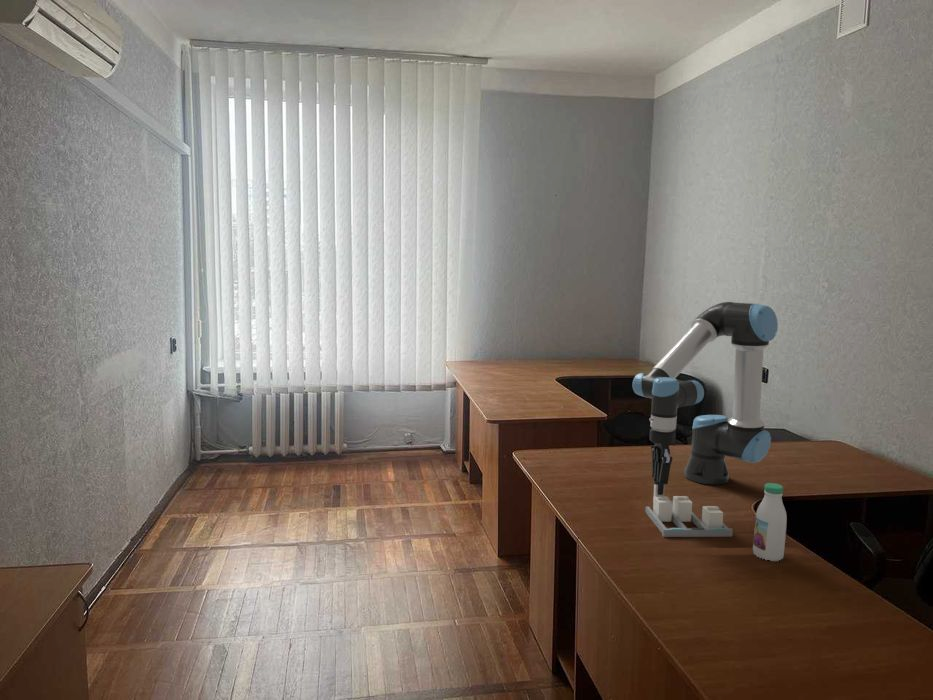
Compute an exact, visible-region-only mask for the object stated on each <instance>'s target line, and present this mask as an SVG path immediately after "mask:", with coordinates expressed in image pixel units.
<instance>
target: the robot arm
mask: <svg viewBox="0 0 933 700" xmlns="http://www.w3.org/2000/svg"><path fill="white" fill-rule="evenodd" d="M778 326H779V323H778V317H777V314H776V312H775V311H774V310H773V308H772V307H770V306H769V305H765V304H759V303H749V302H734V301H724V302H720V303H717V304H715V305H712V306H711V307H709V308H707V309H705V310H704V311H703V312H701V313H700V314H699V315H698V316H697V317H695V318H694V320H692V322H691V324H690V328H689V329H688V330H687V331H686V332H685V333H684V335H683V336H682V337H681V338H680V339H679V340H677V342H676V343H675V344H674V345H673V346H672V347H671V348H670V349H669V350H668V351H667V353H666V354H664V356H663V357H662V358H660V360H659V361H658V362H657V363H656V364H655V365H654V366H653V367H652V368H651V369H650V371H649V372H648V373H645V372H640V373H637V374H635V376H634V378H633V380H632V383H631V384H632V390H633V392H634V394H636V395H638V396H641V397H644V398H646V399H648V398H649V399H651V411H650V418H649V419H648V420H649V422H650V426H649V427H651V428H650V429H649V439H648V440H649V442H652V443H653V444H654V445H650V451H651V477H652V478H653V495H652V496H653V499H652V502H653V503H654V496H665V485H668V484H669V478H670V472H671V465H672V461H673V457H672V456H670V455H671V449H670V445H672V444H674V443H675V442H676V436H677V435H676V429H677V424H678V421H677V420H678V419H677V418H678V408H683V407H688V406H690V407H691V406H693V405H696V404H699V403H700V402H702V400H703V399H704V396H705V390H704V387H703V385H702V384H701V383H700V382H699V381H698V380H691V379H688V380H680V379H677V377H678V376H679V375H680V374H681V373H682V372H683V370H685V368H687V366H688V365H689V364H690V363H691V361H693V360H694V358H695V357H696V356H697V355H698V354H699V353H700V352H701V351H702V350H703V349H704V348H705V347H706V345H708V343H712V342H714V341H715V340H716V339H717V338H718V337H719V338H720V337H722V336H723V337H725V336H726V337H730V338H731V342H730V343H731V345H732V346H733V347H734V348H735V355H734V356H735V360H734V361H735V362H734V378H733V380H734V383H733V400H732V416H731V417H730V418H728V416H726V415H722V414H705V415H704V414H703V415H698V416H695V418H694V419H693V423H692V427H691V429H692V430H691V431H692V432H691V433H692V435H691V450H690V457H689V459H688V461H687V464H686V466H685V468H684V477H685V478H686V479H687V480H690V481H692V482H694V483H699V484H705V485H714V486H715V485H716V486H717V485H724V484H727V483H728V482H729V476H730V475H729V474H730V473H729V470H728V467H727V462H726V457H729V458H732V459H737V460H740V461H742V462H746V463H747V462H748V463H752V464H756V463H759V462H761V461H762V460H763V459H765V457H766V455H767V454H768V452H769V450H770V448H771V442H772V436H771V434H770V432H769V431H768V430H765V422H764V421H763V420H762V419H761V403H762V402H761V400H762V385H763V383H762V381H763V365H764V350H765V349H766V348H767V347H768V346H769V345H770V342H771V341H773V340H774V339H775V337H776V335H777V334H776V333H778Z"/></svg>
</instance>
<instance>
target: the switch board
mask: <svg viewBox="0 0 933 700" xmlns="http://www.w3.org/2000/svg"><path fill="white" fill-rule="evenodd" d="M645 513H646V514H647V516H648V518H650V520H651V521H652V523H653V524H654V525H655V526H656V527H657V529H658V530H659V531H660V533H661V536H662V538H672V537H673V538H678V537H679V538H686V537H687V538H690V537H691V538H692V537H693V538H697V537H698V538H700V537H703V538H705V537H706V538H707V537H710V538H711V537H713V538H715V537H719V538H720V537H725V538H726V537H733V534H734V533H733V530H734V529H733V528H732V527H731V528H730V527H728V526H727V525H726V524H725V523H724V522H723V523H722V528H707V527H706V526H705V525H704V524H703V523H702V520H701V519H700V518H698V516H697V515H696V514H695V513H694V512H693V511H692V513H691V521H690V522H692V523H693V524H694V525H695V526H696V527H690V528H689V527H687V525H685V524H684V523H683V522H681V521H680V520H679V518H678V517H677V516H676V515H675V514H674V513H673V512H672V517H671V522H673V524H674V525H675V526H676V527H669V528H668V527H666V526H665V524H663V522H661V521H660V520H659V518H658V517H657V516H656V515H655V513H654V512H653V509H652V508H651V507H650V506H645Z"/></svg>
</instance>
